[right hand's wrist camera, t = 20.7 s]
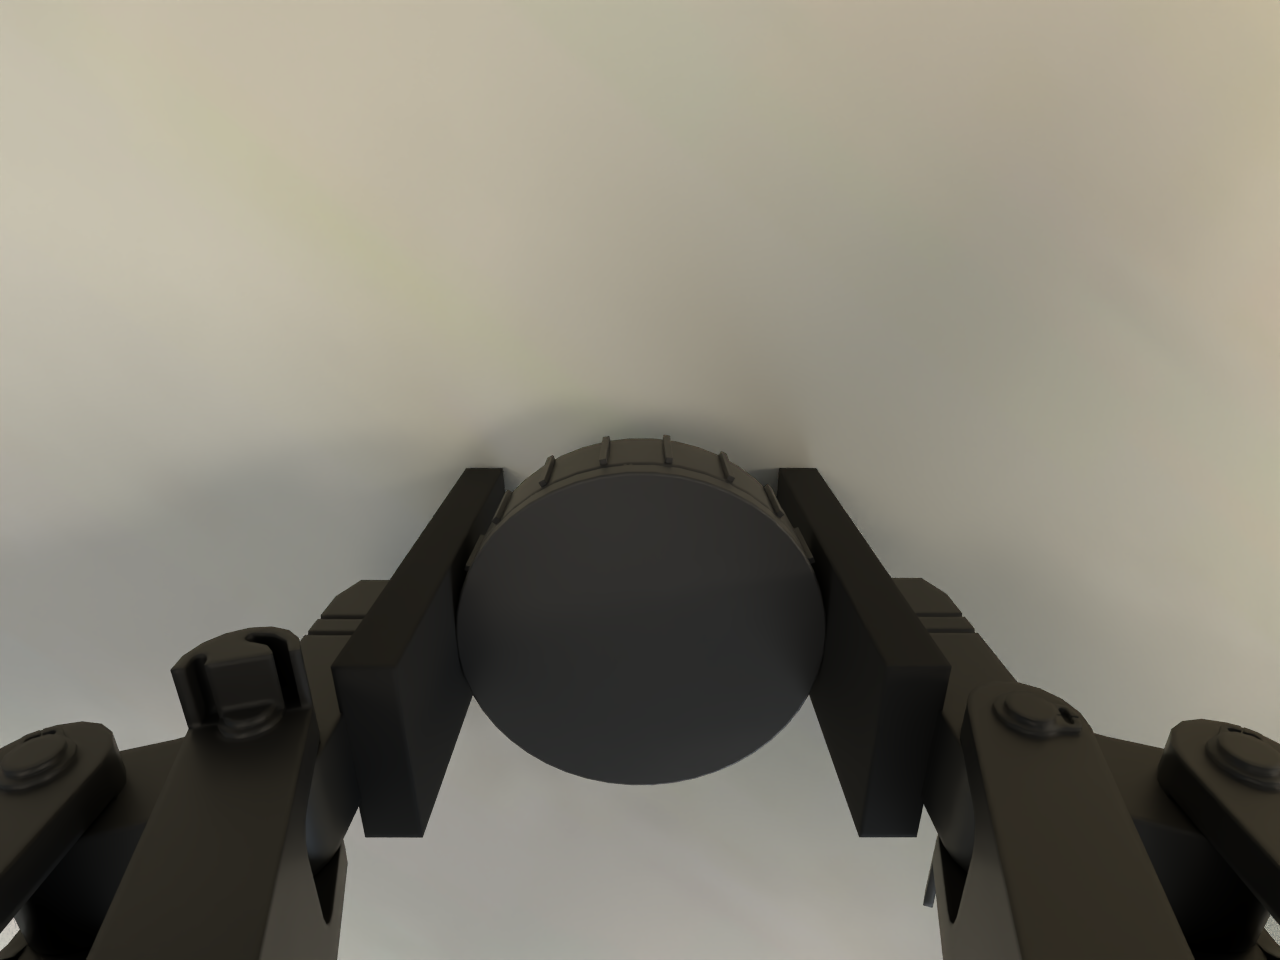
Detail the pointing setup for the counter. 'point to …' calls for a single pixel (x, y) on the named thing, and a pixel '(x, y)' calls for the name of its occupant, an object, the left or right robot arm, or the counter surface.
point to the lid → (640, 614)
